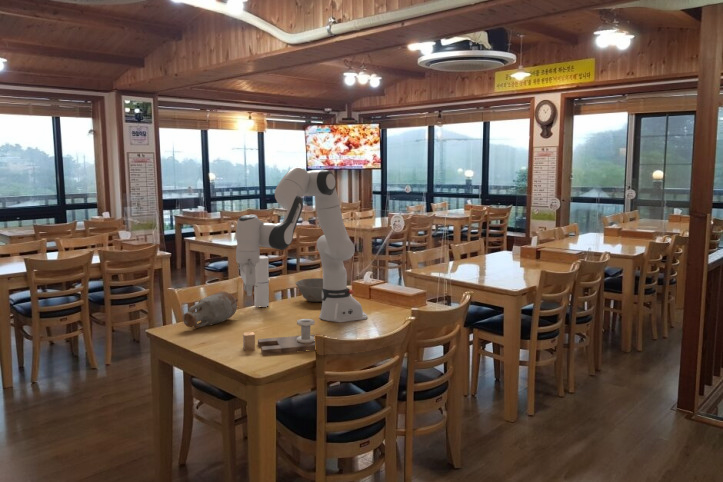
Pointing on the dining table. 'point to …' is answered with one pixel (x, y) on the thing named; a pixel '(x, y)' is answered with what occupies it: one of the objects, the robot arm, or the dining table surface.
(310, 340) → the bobbin
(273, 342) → the notched board
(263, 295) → the cylindrical container
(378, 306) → the dining table surface
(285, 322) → the dining table surface
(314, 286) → the ceramic bowl
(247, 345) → the tan wooden block
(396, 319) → the dining table surface
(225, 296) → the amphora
